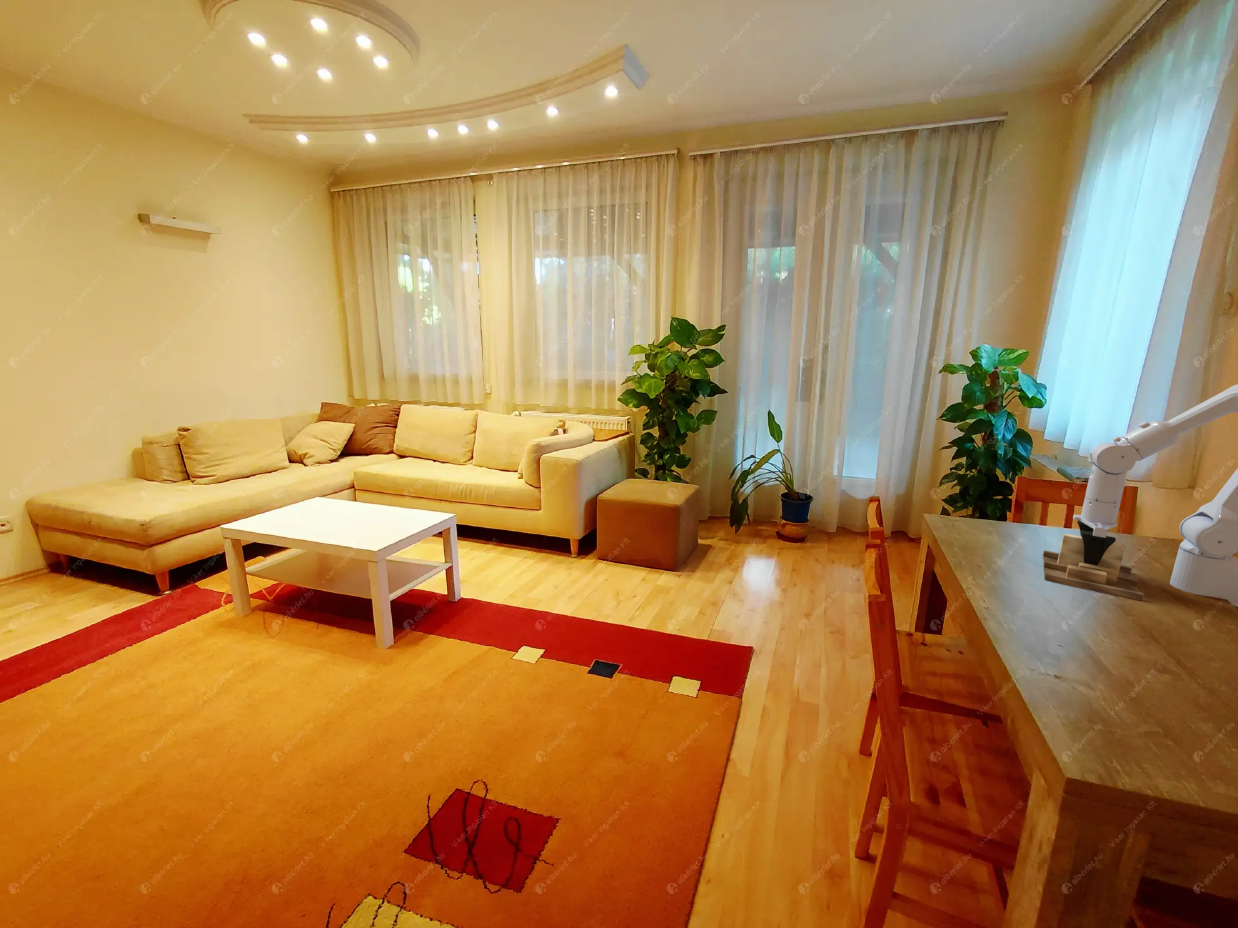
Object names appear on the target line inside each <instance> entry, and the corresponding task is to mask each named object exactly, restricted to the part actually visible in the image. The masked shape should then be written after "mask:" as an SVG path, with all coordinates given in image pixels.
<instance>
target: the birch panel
mask: <svg viewBox="0 0 1238 928" xmlns="http://www.w3.org/2000/svg"><path fill="white" fill-rule="evenodd" d="M1125 548H1126V545H1125V543H1124V542H1123V543H1122V542H1117V541H1115V542H1114V543H1113V544H1112V545H1111V546H1110V547H1109V548H1108V549H1107V550H1106V552H1105V553H1104V555H1103V557H1102V559H1101V561H1100V562H1099V564H1098V565H1097V566H1101V567H1106V568H1111V569H1116V570H1118V574H1119V570H1120V566H1121V565H1122V562H1123V558H1124V557H1123V556H1124V552H1125V550H1126V549H1125ZM1058 553H1059V557H1058V562H1057V563H1058V564H1063V565H1072V566H1077V567H1078V566H1079V562H1080V563H1084V544H1083V539H1082V536H1081V535H1077V534H1070V533H1066V532H1065V533H1063V535H1062V540H1061V544H1060V548H1059V552H1058Z"/></svg>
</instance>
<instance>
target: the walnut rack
mask: <svg viewBox="0 0 1238 928" xmlns="http://www.w3.org/2000/svg"><path fill="white" fill-rule="evenodd" d="M1058 557H1059V552H1054V551H1049V550H1043V554H1042V558H1043V560H1042V561H1043V573H1044V574H1043V575H1044V581H1049V582H1052V583H1053V582H1054V583H1058V584H1063V585H1068V586H1072V587H1076V588H1082V589H1085V590H1086V589H1087V590H1091V591H1094V592H1095V591H1096V592H1101V593H1104V594H1109V595H1114V596H1118V597H1123V598H1126V599H1127V598H1128V599H1133V600H1136V601H1142V602H1143V601H1144V597H1145V594H1144V592H1141V591H1139V589H1138V587H1137V584H1138V582H1139V581H1138V579H1137V578H1133V576H1132V569H1133V568H1132V567H1131V566H1128V565H1125V564H1123V565H1122V564H1121V566H1120V570H1119V574H1118V577H1117V581H1116V586H1110V585H1102V584H1098V583H1093V582H1088V581H1083V580H1079V579H1074V578H1069V577H1066V572H1067V567H1068V565H1063V564H1058V563H1057V562H1058Z"/></svg>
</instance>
